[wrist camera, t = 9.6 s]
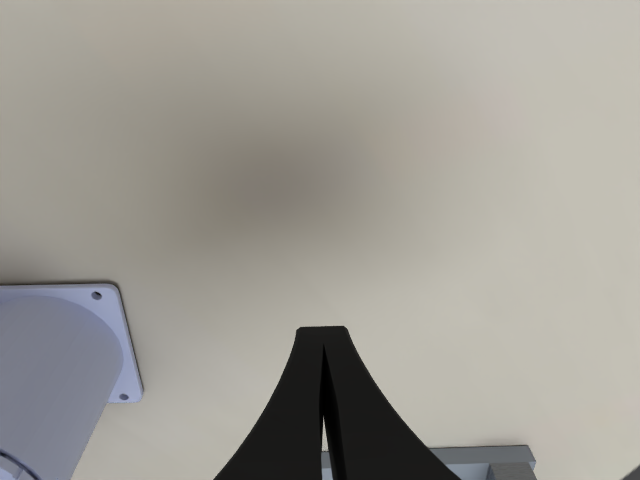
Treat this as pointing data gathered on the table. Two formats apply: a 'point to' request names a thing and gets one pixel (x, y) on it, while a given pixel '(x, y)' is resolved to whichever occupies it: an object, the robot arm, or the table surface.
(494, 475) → the grey rectangular block
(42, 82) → the table surface
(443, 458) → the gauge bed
